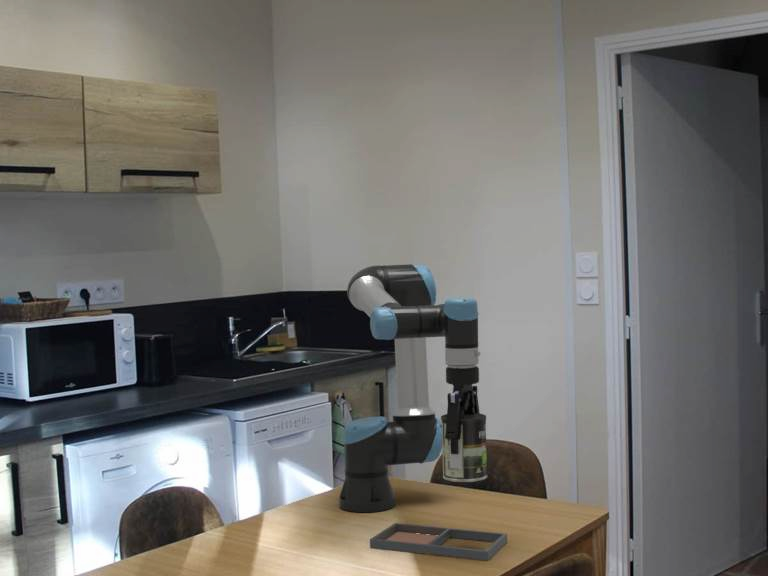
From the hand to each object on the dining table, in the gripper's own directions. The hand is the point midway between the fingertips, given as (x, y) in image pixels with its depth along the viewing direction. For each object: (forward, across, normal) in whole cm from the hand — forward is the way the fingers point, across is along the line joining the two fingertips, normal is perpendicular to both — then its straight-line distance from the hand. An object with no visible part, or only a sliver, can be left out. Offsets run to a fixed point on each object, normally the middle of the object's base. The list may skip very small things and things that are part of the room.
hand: (464, 463), depth 224 cm
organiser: (+20, 0, +7) cm, 21 cm away
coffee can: (+4, 0, 0) cm, 4 cm away
